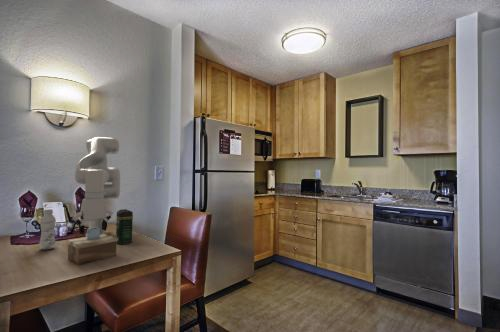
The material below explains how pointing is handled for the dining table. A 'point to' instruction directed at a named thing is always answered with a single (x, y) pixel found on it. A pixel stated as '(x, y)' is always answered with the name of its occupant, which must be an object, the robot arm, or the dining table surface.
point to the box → (91, 253)
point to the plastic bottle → (47, 230)
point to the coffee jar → (124, 226)
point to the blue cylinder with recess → (93, 233)
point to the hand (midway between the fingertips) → (93, 231)
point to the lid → (84, 243)
